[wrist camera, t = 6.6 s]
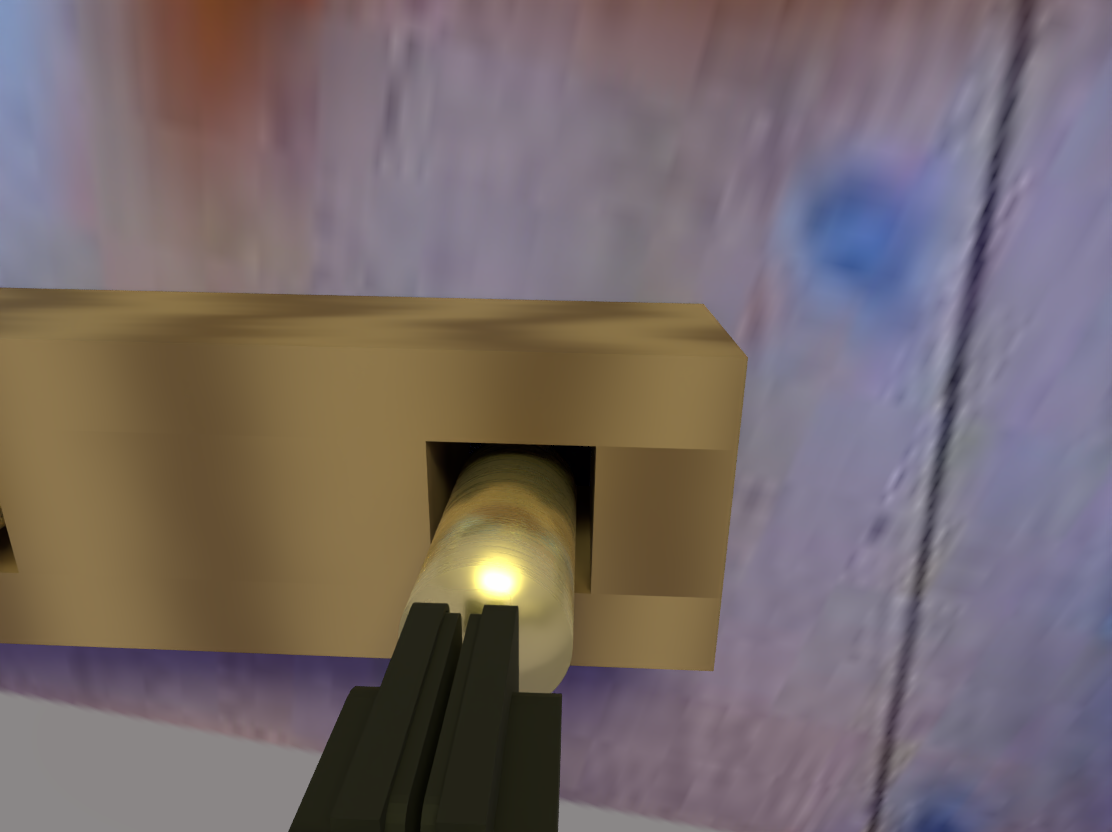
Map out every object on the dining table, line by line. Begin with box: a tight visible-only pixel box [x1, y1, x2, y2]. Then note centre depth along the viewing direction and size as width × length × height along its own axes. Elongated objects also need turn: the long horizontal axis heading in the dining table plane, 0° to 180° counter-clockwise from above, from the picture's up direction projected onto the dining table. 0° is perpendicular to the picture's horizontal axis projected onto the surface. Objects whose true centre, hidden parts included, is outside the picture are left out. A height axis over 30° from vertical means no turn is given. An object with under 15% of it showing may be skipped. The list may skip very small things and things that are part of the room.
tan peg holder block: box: [0, 288, 748, 671], centre depth 19 cm, size 24×8×6 cm, turn 89°
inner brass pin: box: [398, 443, 577, 693], centre depth 15 cm, size 3×3×6 cm
